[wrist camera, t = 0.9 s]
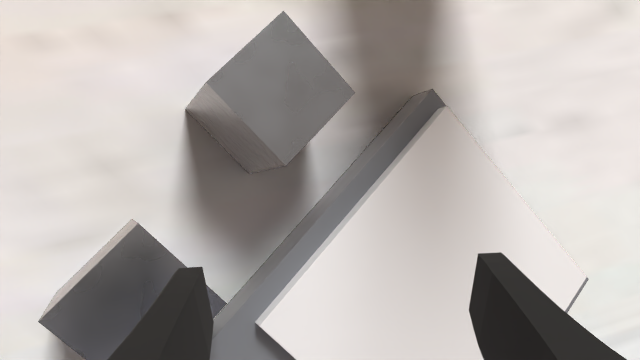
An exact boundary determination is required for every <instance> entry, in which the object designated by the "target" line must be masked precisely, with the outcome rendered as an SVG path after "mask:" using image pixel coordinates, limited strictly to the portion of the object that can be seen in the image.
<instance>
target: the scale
mask: <svg viewBox="0 0 640 360" xmlns="http://www.w3.org/2000/svg"><path fill="white" fill-rule="evenodd" d="M499 252H501V253H503V254H504V255H505V256H506V257H507V258H508V259H509V260H510V261H511V262H512V263H513V264H514V265H515V266H516V267H517V268H518V269H519V270H520V271H521V272H522V273H523V274H524V275H526V276H527V277H528V278H529V279H530V280H531V281H532V282H533V283H534V284H535V285H536V286H537V287H538V288H539V289H540V290H541V291H542V292H543V293H545V294H546V295H547V296H548V297H549V298H550V299H551V300H552V301H553V302H555V303H556V304H557V305H558V306H559V307H560V308H561V309H562V310H563V311H565V312H566V313H567V312H568V311H569V309H570V308H571V306H572V305H573V303H574V301H575V300H576V298H577V297H578V295H579V294H580V292H581V290H582V289H583V287H584V286H585V284H586V282H587V281H588V278H587V276H586V274H585V273H584V272H583V271H582V270H581V268H580V267H579V266H578V265H577V264H576V262H575V261H574V260H573V259H572V257H571V256H570V255H569V254H568V253H567V251H566V250H565V249H564V248H563V246H562V245H561V244H560V243H559V242H558V240H557V239H556V238H555V237H554V235H553V234H552V233H551V232H550V231H549V229H548V228H547V227H546V226H545V225H544V223H543V222H542V221H541V220H540V218H539V217H538V216H537V215H536V214H535V212H534V211H533V210H532V209H531V207H530V206H529V205H528V204H527V203H526V201H525V200H524V199H523V198H522V197H521V195H520V194H519V193H518V192H517V190H516V189H515V188H514V187H513V186H512V184H511V183H510V182H509V181H508V179H507V178H506V177H505V176H504V175H503V173H502V172H501V171H500V170H499V169H498V167H497V166H496V165H495V164H494V162H493V161H492V160H491V159H490V158H489V156H488V155H487V154H486V153H485V151H484V150H483V149H482V148H481V147H480V145H479V144H478V143H477V142H476V141H475V139H474V138H473V137H472V136H471V134H470V133H469V132H468V131H467V130H466V128H465V127H464V126H463V125H462V123H461V122H460V121H459V120H458V119H457V117H456V116H455V115H454V114H453V113H452V111H451V110H450V109H449V108H448V106H446V105H445V104H444V103H443V101H442V100H441V99H440V98H439V96H438V95H437V94H436V93H435V92H434V90H433V89H431V90H428V91H426V92H423V93H420V94H417V95H414V96H412V97H411V99H410V100H409V101H408V102H407V103H406V104H405V105H404V106H403V108H402V109H401V110H400V111H399V112H398V113H397V114H396V115H395V117H394V118H393V119H392V120H391V121H390V122H389V123H388V124H387V126H386V127H385V128H384V129H383V130H382V131H381V132H380V133H379V134H378V136H377V137H376V138H375V139H374V140H373V141H372V142H371V143H370V145H369V146H368V147H367V148H366V149H365V150H364V151H363V152H362V154H361V155H360V156H359V157H358V158H357V159H356V160H355V161H354V163H353V164H352V165H351V166H350V167H349V168H348V169H347V170H346V172H345V173H344V174H343V175H342V176H341V177H340V178H339V179H338V181H337V182H336V183H335V184H334V185H333V186H332V187H331V188H330V190H329V191H328V192H327V193H326V194H325V195H324V196H323V197H322V199H321V200H320V201H319V202H318V203H317V204H316V205H315V206H314V208H313V209H312V210H311V211H310V212H309V213H308V214H307V215H306V217H305V218H304V219H303V220H302V221H301V222H300V223H299V224H298V225H297V227H296V228H295V229H294V230H293V231H292V232H291V233H290V234H289V236H288V237H287V238H286V239H285V240H284V241H283V242H282V243H281V245H280V246H279V247H278V248H277V249H276V250H275V251H274V252H273V254H272V255H271V256H270V257H269V258H268V259H267V260H266V261H265V263H264V264H263V265H262V266H261V267H260V268H259V269H258V270H257V272H256V273H255V274H254V275H253V276H252V277H251V278H250V279H249V281H248V282H247V283H246V284H245V285H244V286H243V287H242V288H241V290H240V291H239V292H238V293H237V294H236V295H235V296H234V297H233V299H232V300H231V301H230V302H229V303H228V304H227V305H226V306H225V307H224V309H223V310H222V311H221V312H220V313H219V314H218V315H217V316H216V318H215V319H214V320H213V321H214V324H213V334H212V344H211V352H210V360H484V359H483V357H482V354H481V352H480V349H479V346H478V343H477V340H476V336H475V332H474V329H473V325H472V321H471V317H470V313H469V304H470V299H471V293H472V287H473V281H474V275H475V269H476V263H477V257H478V253H499Z"/></svg>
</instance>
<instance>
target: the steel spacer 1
mask: <svg viewBox="0 0 640 360" xmlns="http://www.w3.org/2000/svg"><path fill="white" fill-rule="evenodd" d="M179 268H187V267H186V266H185V265H184V264H183V263H181V262H180V261H179V260H178V259H177V258H176V257H175V256H174V255H173V254H172V253H170V252H169V251H168V250H167V249H166V248H165V247H164V246H163V245H162V244H161V243H159V242H158V241H157V240H156V239H155V238H154V237H153V236H152V235H151V234H150V233H148V232H147V231H146V230H145V229H144V228H143V227H142V226H141V225H140V224H138V223H137V222H136V221H135V220H133V219H131V220H130V221H129V222H128V223H127V224H126V225H125V226H124V227H123V228H122V229H121V230H120V231H119V232H118V233H117V234H116V235H115V236H114V237H113V238H112V239H111V240H110V241H109V242H108V243H107V244H106V245H105V246H104V247H103V248H102V249H101V250H100V251H99V252H97V253H96V254H95V255H94V256H93V257H92V258H91V259H90V260H89V261H88V262H87V263H86V264H85V265H84V266H83V267H82V268H81V269H80V270H79V271H78V272H77V273H76V274H75V275H74V276H73V277H72V278H71V279H70V280H69V281H68V282H67V283H66V284H65V285H64V286H63V287H62V288H61V289H60V290H59V291H58V292H56V294H55V295H54V297H53V299H52V300H51V302H50V303H49V305H48V307H47V308H46V310H45V311H44V313H43V315H42V316H41V318H40V319H39V321H38V322H39V323H41V324H42V325H43V326H44V327H46V328H47V329H48V330H49V331H51V332H52V333H53V334H54V335H56V336H57V337H58V338H59V339H61V340H62V341H63V342H64V343H66V344H67V345H68V346H69V347H71V348H72V349H73V350H74V351H76V352H77V353H78V354H80V355H81V356H82V357H83V358H85V359H86V360H107V359H108V358H109V357H110V356H111V354H112V353H113V352H114V351H115V350H116V349H117V348H118V346H119V345H120V344H121V343H122V342H123V341H124V339H125V338H126V337H127V336H128V335H129V333H130V332H131V331H132V330H133V328H134V327H135V326H136V325H137V323H138V322H139V321H140V319H141V318H142V317H143V316H144V314H145V313H146V312H147V310H148V309H149V308H150V307H151V305H152V304H153V302H154V301H155V300H156V298H157V297H158V296H159V294H160V293H161V291H162V290H163V289H164V287H165V286H166V284H167V283H168V281H169V280H170V279H171V277H172V276H173V274H174V273H175V272H176V271H177V270H178V269H179ZM206 288H207V292H208V297H209V302H210V307H211V312H212V317H213V319H214V317H215V316H216V315H217V314H218V313H219V312H220V311H221V310H222V308H223V307H224V306H225V305H226V304H227V303H226V302H225V301H223V300H222V299H221V298H220V297H219V296H218V295H217V294H216V293H215V292H213V291H212V290H211V289H210V288H209V287H208V286H207V285H206Z"/></svg>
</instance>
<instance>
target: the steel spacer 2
mask: <svg viewBox="0 0 640 360" xmlns="http://www.w3.org/2000/svg"><path fill="white" fill-rule="evenodd" d="M354 93H355V92H354V91H353V90H352V89H351V87H350V86H349V85H348V84H347V83H346V82H345V81H344V79H343V78H342V77H341V76H340V75H339V74H338V73H337V71H336V70H335V69H334V68H333V67H332V66H331V65H330V63H329V62H328V61H327V60H326V59H325V58H324V57H323V55H322V54H321V53H320V52H319V51H318V50H317V49H316V47H315V46H314V45H313V44H312V43H311V42H310V41H309V39H308V38H307V37H306V36H305V35H304V34H303V33H302V31H301V30H300V29H299V28H298V27H297V26H296V25H295V23H294V22H293V21H292V20H291V19H290V18H289V16H288V15H287V14H286V13H285V12H284V11H283V12H282V13H281V14H280V15H278V16H277V17H276V18H275V19H274V20H273V21H272V22H271V23H270V24H269V25H268V26H267V27H265V28H264V29H263V30H262V31H261V32H260V33H259V34H258V35H257V36H256V37H255V38H254V39H252V40H251V41H250V42H249V43H248V44H247V45H246V46H245V47H244V48H243V49H242V50H241V51H239V52H238V53H237V54H236V55H235V56H234V57H233V58H232V59H231V60H230V61H229V62H228V63H226V64H225V65H224V66H223V67H222V68H221V69H220V70H219V71H218V72H217V73H216V74H215V75H213V76H212V77H211V78H210V79H209V80H208V81H207V82H206V83H205V84H204V86H203V87H202V88H201V89H200V91H199V92H198V93H197V95H196V96H195V97H194V98H193V100H192V101H191V102H190V104H189V105H188V106H187V107H186V110H187V111H188V112H189V113H190V114H191V115H192V116H193V117H194V118H195V120H196V121H197V122H198V123H199V124H200V125H201V126H202V127H203V128H204V129H205V130H206V131H207V132H208V133H209V134H210V135H211V136H212V137H213V138H214V139H215V140H216V141H217V142H218V143H219V144H220V145H221V146H222V147H223V148H224V149H225V150H226V151H227V152H228V153H229V154H230V155H231V156H232V157H233V158H234V159H235V160H236V161H237V162H238V163H239V164H240V165H241V166H242V167H243V168H244V169H245V170H246V171H247V172H248V173H249V174H250V173H255V172H260V171H264V170H269V169H274V168H278V167H283V166H286V165H287V164H288V163H289V162H290V161H291V160H292V159H293V158H294V157H295V156H296V155H297V154H298V153H299V152H300V151H301V149H302V148H303V147H304V146H305V145H306V144H307V143H308V142H309V141H310V140H311V139H312V138H313V137H314V136H315V135H316V134H317V133H318V131H319V130H320V129H321V128H322V127H323V126H324V125H325V124H326V123H327V122H328V121H329V120H330V119H331V118H332V117H333V116H334V115H335V113H336V112H337V111H338V110H339V109H340V108H341V107H342V106H343V105H344V104H345V103H346V102H347V101H348V100H349V99H350V98H351V96H352V95H353V94H354Z"/></svg>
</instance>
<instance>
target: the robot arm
mask: <svg viewBox="0 0 640 360" xmlns="http://www.w3.org/2000/svg"><path fill="white" fill-rule="evenodd" d="M469 313H470V317H471V321H472V325H473V329H474V332H475V336H476V340H477V343H478V346H479V349H480V352H481V354H482V357H483V359H484V360H626V359H625V358H624V357H622V356H621V355H619V354H618V353H617V352H615V351H614V350H612V349H611V348H609V347H608V346H607V345H605V344H604V343H603V342H601V341H600V340H599V339H598V338H596V337H595V336H594V335H593V334H591V333H590V332H589V331H588V330H586V329H585V328H584V327H583V326H581V325H580V324H579V323H578V322H576V321H575V320H574V319H573V318H572V317H570V316H569V315H568V314H567V313H566V312H565V311H563V310H562V309H561V308H560V307H559V306H558V305H557V304H556V303H555V302H553V301H552V300H551V299H550V298H549V297H548V296H547V295H546V294H545V293H543V292H542V291H541V290H540V289H539V288H538V287H537V286H536V285H535V284H534V283H533V282H532V281H531V280H530V279H529V278H528V277H527V276H526V275H524V274H523V273H522V272H521V271H520V270H519V269H518V268H517V267H516V266H515V265H514V264H513V263H512V262H511V261H510V260H509V259H508V258H507V257H506V256H505V255H504V254H503V253H501V252H499V253H478V257H477V263H476V269H475V275H474V281H473V287H472V293H471V299H470V304H469ZM213 324H214V321H213V317H212V312H211V307H210V302H209V297H208V292H207V288H206V283H205V278H204V273H203V268H202V267H192V268H179V269H178V270H177V271H176V272H175V273H174V274H173V276H172V277H171V279H170V280H169V281H168V283H167V284H166V286H165V287H164V289H163V290H162V291H161V293H160V294H159V296H158V297H157V298H156V300H155V301H154V302H153V304H152V305H151V307H150V308H149V309H148V310H147V312H146V313H145V314H144V316H143V317H142V318H141V319H140V321H139V322H138V323H137V325H136V326H135V327H134V328H133V330H132V331H131V332H130V333H129V335H128V336H127V337H126V338H125V339H124V341H123V342H122V343H121V344H120V345H119V346H118V348H117V349H116V350H115V351H114V352H113V353H112V354H111V356H110V357H109V358H108V359H107V360H210V352H211V344H212V334H213Z"/></svg>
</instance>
